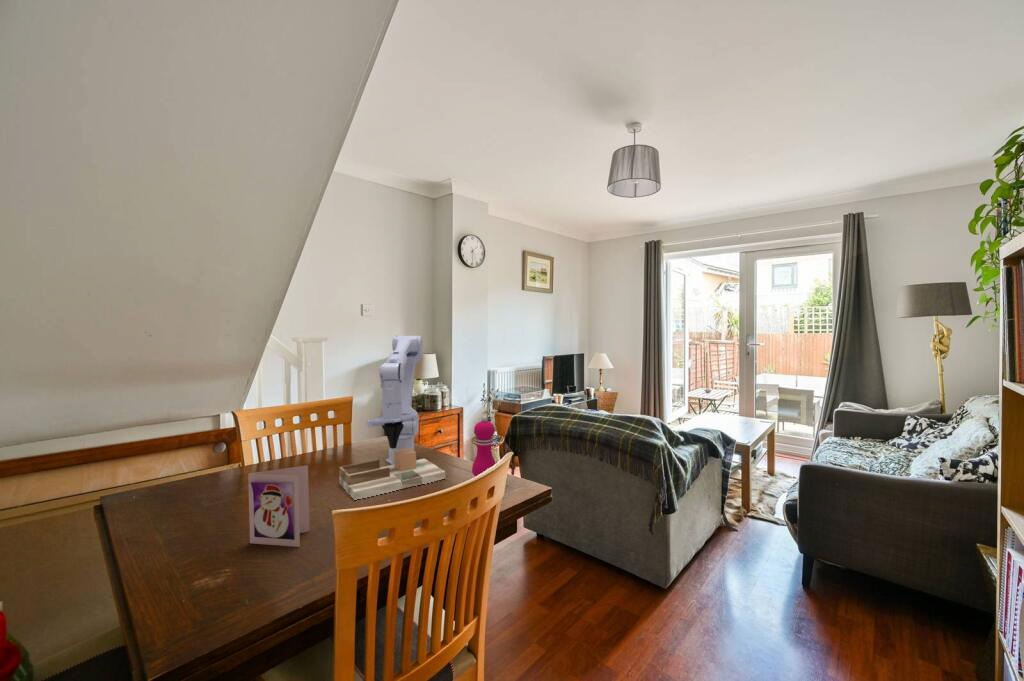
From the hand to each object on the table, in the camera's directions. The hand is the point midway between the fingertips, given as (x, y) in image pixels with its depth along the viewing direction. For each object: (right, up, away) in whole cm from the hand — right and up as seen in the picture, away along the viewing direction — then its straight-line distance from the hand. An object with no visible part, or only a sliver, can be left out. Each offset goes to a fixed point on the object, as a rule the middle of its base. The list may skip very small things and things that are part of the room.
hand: (392, 447), depth 129 cm
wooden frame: (-7, -7, -5) cm, 11 cm away
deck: (0, -10, -2) cm, 10 cm away
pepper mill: (+28, -10, -4) cm, 30 cm away
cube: (+3, -7, +3) cm, 8 cm away
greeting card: (-14, -11, -36) cm, 40 cm away
